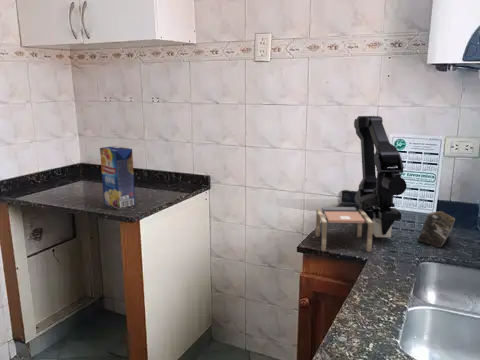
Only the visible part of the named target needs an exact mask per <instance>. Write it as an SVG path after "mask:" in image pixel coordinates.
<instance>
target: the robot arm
mask: <svg viewBox="0 0 480 360" xmlns="http://www.w3.org/2000/svg"><path fill="white" fill-rule="evenodd" d="M382 117H383V116H382ZM382 117H381V116H379V115H377V116H376V115H358V116H357V118H355V119H354V121H353V128H354V129H355V135H356V136H357V137H358V138H359V140H360V152H361V173H362V179H361V181H360V182H359V185H358V190H357V192H356V194H355V195H354V203H355V204H356V205H357V206H359V207H358V210H359V209H362V210H363V211H364V212H365V213H366V214H367V216H368V217H369V218H370V219H371V220H372V222H373V218H379V219H380V220H381V228H382V234H383V235H386V233H387V232H388V230H389V228H390V227H391V225H392V226H393V224H394V222H395V221H401V220H402V213H401V212H400V210H398V209H397V208H396V207H395V206H396V205H395V204H396V203H394V196H400V195H402V194H404V193H405V191H406V190H407V182H406V181H405V179H404V178H402V174H404V169H405V166H404V162H403V160H402V156H401V154H400V152H399V151H398V149H397V147H396V145H393V144H392V143H391V142H390V140H389V137H388V135H387V132H386V129H385V127H384V124H383V118H382ZM363 219H364V218H363ZM365 223H367V222H366V221H365Z"/></svg>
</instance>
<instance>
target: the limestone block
mask: <svg viewBox="0 0 480 360" xmlns="http://www.w3.org/2000/svg"><path fill="white" fill-rule="evenodd" d="M392 229H393V224H392V225H391V227H390V228H389V230H388V232H387V233H386V235H383V234H382V228H381V220H380V219H379V218H376V217H375V218H373V234H372V235H373V236H374V237H376V238H391V237H392Z"/></svg>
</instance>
